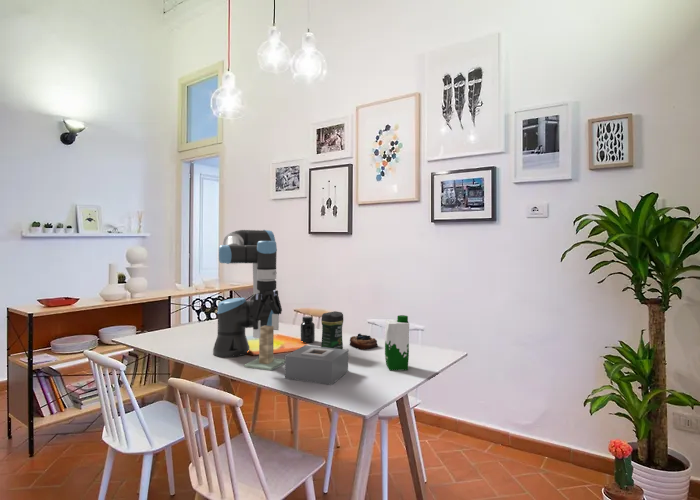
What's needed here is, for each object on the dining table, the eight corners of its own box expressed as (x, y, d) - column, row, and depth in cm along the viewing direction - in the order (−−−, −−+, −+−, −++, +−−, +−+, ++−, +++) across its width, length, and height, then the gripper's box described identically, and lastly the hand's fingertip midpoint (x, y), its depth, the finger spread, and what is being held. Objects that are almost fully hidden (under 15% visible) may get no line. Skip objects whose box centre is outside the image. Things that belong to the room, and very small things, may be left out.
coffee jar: (331, 359, 168) (332, 314, 168) (317, 355, 173) (318, 312, 173) (346, 354, 176) (346, 311, 175) (332, 351, 181) (332, 309, 180)
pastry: (365, 342, 198) (365, 330, 198) (380, 348, 188) (380, 335, 188) (346, 345, 192) (346, 333, 191) (361, 351, 182) (361, 338, 181)
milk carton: (410, 370, 154) (411, 318, 153) (387, 371, 153) (387, 318, 152) (405, 364, 162) (406, 314, 162) (383, 364, 161) (383, 314, 161)
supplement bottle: (316, 340, 199) (317, 316, 199) (311, 344, 193) (311, 318, 193) (304, 339, 202) (304, 315, 201) (298, 342, 195) (298, 317, 195)
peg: (259, 363, 159) (259, 327, 159) (264, 360, 163) (264, 325, 163) (268, 364, 158) (268, 328, 157) (273, 361, 161) (273, 326, 161)
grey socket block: (284, 378, 144) (284, 354, 144) (305, 365, 159) (305, 344, 159) (331, 384, 138) (331, 360, 137) (348, 371, 153) (348, 348, 153)
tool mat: (244, 366, 157) (244, 364, 157) (261, 358, 168) (261, 356, 168) (271, 370, 153) (271, 368, 153) (287, 361, 164) (287, 359, 164)
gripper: (257, 283, 147) (256, 342, 147) (290, 277, 170) (290, 327, 171) (239, 282, 149) (239, 339, 150) (274, 276, 173) (274, 326, 173)
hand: (266, 333), depth 160 cm, fingers open, 13 cm apart
